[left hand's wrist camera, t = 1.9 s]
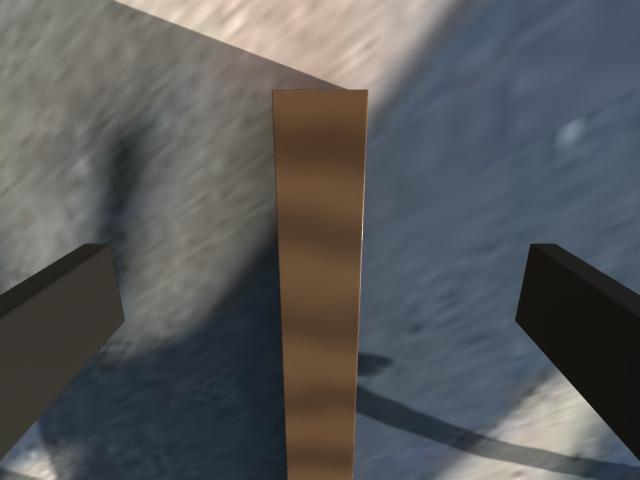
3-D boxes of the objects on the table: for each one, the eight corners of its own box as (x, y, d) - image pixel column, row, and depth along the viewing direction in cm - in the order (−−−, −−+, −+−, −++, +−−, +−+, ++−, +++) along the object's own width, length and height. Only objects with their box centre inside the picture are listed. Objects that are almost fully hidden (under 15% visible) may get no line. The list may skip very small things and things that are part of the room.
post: (283, 92, 30) (271, 89, 22) (356, 92, 30) (368, 89, 22) (297, 563, 49) (294, 645, 41) (342, 562, 49) (346, 645, 41)
